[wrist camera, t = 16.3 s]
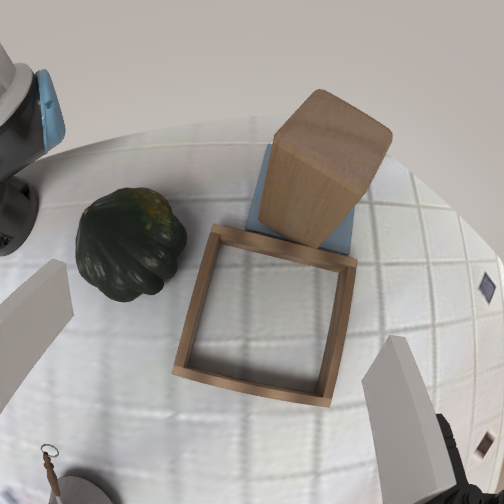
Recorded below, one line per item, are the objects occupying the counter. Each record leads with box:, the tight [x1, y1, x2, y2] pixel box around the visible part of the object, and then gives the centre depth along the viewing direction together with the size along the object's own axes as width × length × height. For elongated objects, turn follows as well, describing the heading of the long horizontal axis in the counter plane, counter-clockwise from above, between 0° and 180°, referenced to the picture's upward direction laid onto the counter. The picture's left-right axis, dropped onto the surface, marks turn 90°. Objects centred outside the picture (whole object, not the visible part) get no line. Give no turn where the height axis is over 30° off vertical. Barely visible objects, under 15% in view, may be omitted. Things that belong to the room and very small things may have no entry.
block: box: [257, 89, 392, 249], centre depth 36 cm, size 10×10×20 cm
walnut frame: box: [172, 224, 357, 408], centre depth 40 cm, size 20×20×4 cm
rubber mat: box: [245, 144, 354, 255], centre depth 47 cm, size 16×16×1 cm
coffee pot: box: [41, 444, 113, 504], centre depth 24 cm, size 21×12×15 cm, turn 168°
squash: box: [75, 188, 187, 302], centre depth 37 cm, size 14×15×15 cm
